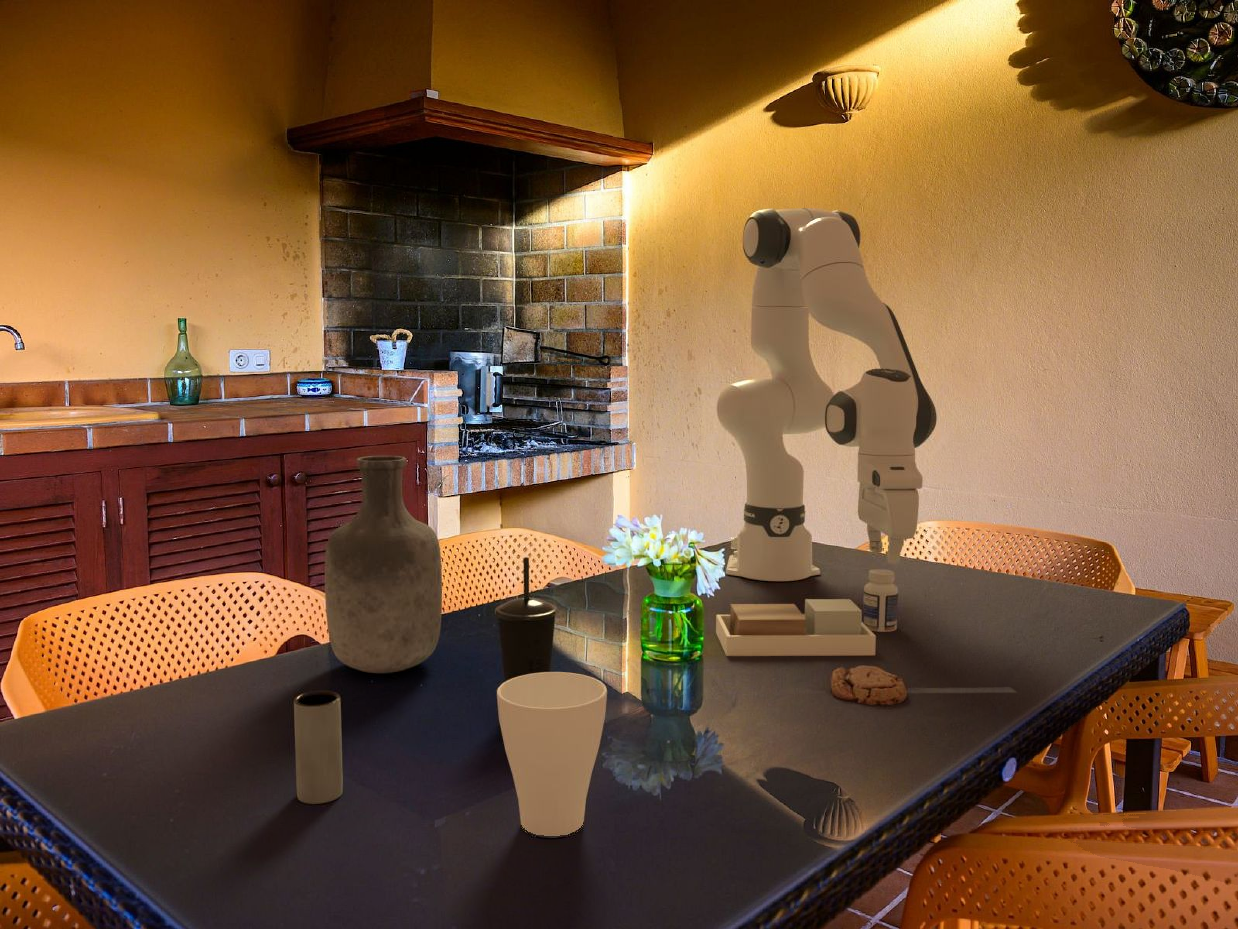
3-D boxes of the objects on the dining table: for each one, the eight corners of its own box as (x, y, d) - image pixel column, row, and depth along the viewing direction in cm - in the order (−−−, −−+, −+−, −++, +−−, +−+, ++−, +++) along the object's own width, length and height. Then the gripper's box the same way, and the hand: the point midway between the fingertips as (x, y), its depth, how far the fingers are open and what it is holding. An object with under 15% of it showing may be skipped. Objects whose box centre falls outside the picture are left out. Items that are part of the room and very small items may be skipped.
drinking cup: (484, 714, 129) (482, 556, 126) (534, 700, 134) (533, 549, 131) (519, 732, 123) (518, 567, 120) (570, 717, 128) (570, 559, 125)
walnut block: (729, 635, 161) (730, 604, 161) (793, 635, 162) (794, 603, 161) (738, 652, 152) (739, 619, 152) (805, 652, 153) (806, 619, 152)
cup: (609, 801, 105) (609, 672, 103) (603, 852, 94) (604, 710, 93) (506, 799, 105) (505, 670, 103) (489, 849, 95) (488, 708, 93)
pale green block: (804, 636, 161) (805, 599, 160) (848, 636, 161) (849, 599, 160) (814, 650, 154) (815, 611, 153) (860, 650, 154) (861, 611, 153)
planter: (302, 785, 108) (299, 690, 106) (346, 785, 108) (344, 690, 107) (292, 805, 103) (288, 706, 102) (338, 804, 104) (335, 705, 102)
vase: (429, 646, 157) (426, 450, 153) (454, 678, 142) (452, 462, 138) (321, 658, 151) (315, 454, 147) (335, 693, 136) (329, 467, 132)
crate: (715, 636, 163) (716, 614, 162) (853, 635, 164) (854, 614, 163) (726, 659, 151) (726, 636, 151) (874, 659, 152) (875, 636, 151)
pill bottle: (893, 626, 169) (896, 568, 168) (899, 635, 164) (901, 575, 163) (860, 625, 170) (862, 567, 169) (864, 634, 164) (866, 574, 163)
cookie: (890, 713, 131) (891, 691, 130) (814, 695, 137) (815, 673, 137) (919, 692, 138) (920, 671, 138) (846, 676, 145) (847, 655, 144)
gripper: (849, 465, 174) (847, 546, 175) (884, 479, 153) (882, 570, 155) (886, 464, 174) (884, 545, 175) (926, 478, 154) (924, 570, 155)
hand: (884, 557), depth 165 cm, fingers open, 8 cm apart
